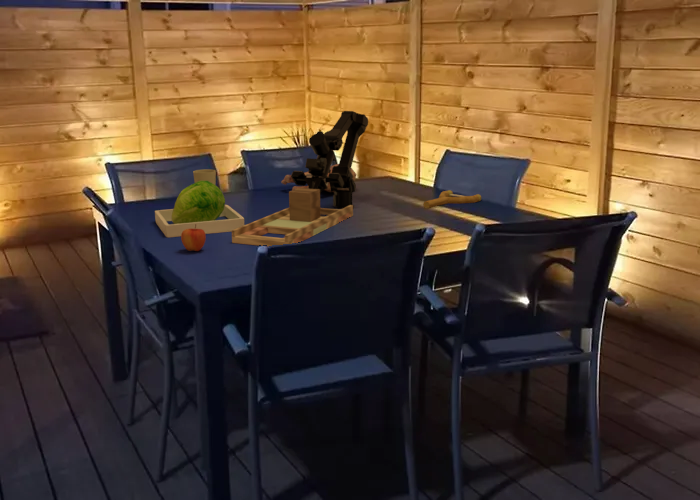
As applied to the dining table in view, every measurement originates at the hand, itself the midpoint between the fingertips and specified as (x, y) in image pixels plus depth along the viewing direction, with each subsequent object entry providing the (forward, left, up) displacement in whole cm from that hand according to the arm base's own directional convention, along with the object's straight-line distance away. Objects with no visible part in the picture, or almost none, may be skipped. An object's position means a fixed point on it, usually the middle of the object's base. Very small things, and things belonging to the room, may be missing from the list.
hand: (310, 198), depth 272 cm
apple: (+46, +24, -9) cm, 52 cm away
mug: (+26, -57, -8) cm, 63 cm away
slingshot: (-60, -11, -9) cm, 61 cm away
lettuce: (+38, -10, -9) cm, 40 cm away
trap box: (+8, +8, -8) cm, 14 cm away
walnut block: (+3, +3, -6) cm, 8 cm away
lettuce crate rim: (+38, -10, -8) cm, 40 cm away
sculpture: (-24, -55, -9) cm, 60 cm away
